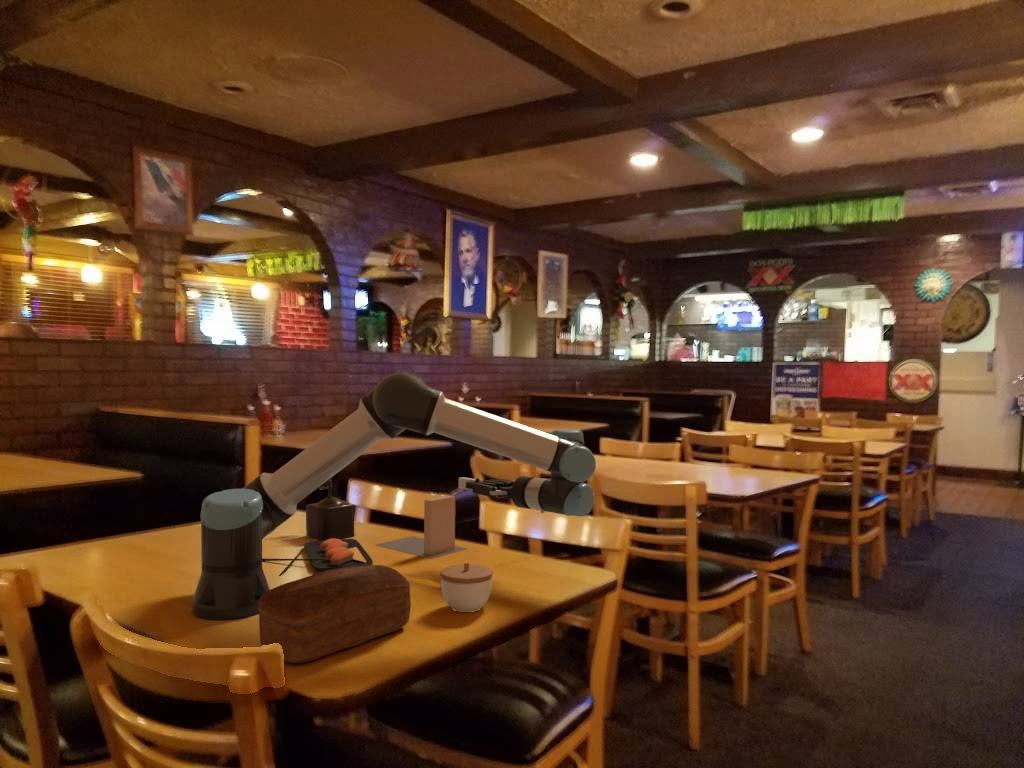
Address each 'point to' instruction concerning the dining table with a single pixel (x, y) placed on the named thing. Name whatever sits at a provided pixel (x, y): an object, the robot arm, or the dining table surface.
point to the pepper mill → (330, 517)
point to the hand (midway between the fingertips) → (460, 482)
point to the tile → (439, 524)
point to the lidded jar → (466, 586)
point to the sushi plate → (330, 554)
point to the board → (415, 547)
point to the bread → (333, 610)
